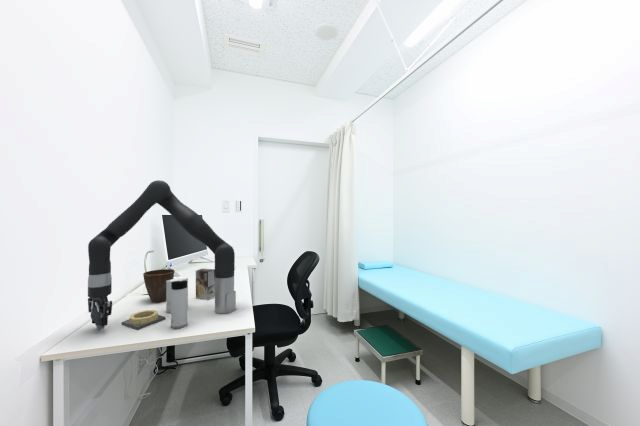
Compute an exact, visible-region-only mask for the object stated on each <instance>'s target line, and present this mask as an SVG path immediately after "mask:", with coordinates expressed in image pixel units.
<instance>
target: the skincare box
mask: <svg viewBox="0 0 640 426" xmlns="http://www.w3.org/2000/svg"><path fill="white" fill-rule="evenodd" d="M184 280H186V281H187V287H188V288H187V289H188V290H189V277H175V278H173V279H171V280H168V281H166V300H165V307H166V308H165V312H166V313H170V314H171V282H173V281H184ZM188 298H189V293H188V294H187V309H188V306H189V305H188V304H189V299H188Z"/></svg>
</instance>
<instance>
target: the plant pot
mask: <svg viewBox="0 0 640 426" xmlns="http://www.w3.org/2000/svg"><path fill="white" fill-rule="evenodd" d="M142 275H143V281H144V285H145V289H146V292H147V295H148V297H149V299H150V302H152V303H162V302H166V281H168V280H171V279H175V278H174V276H175V270H174V269H170V268H169V269H168V268H166V269H165V268H163V269H156V270H154V269H153V270H149V271H145V272H144V273H143V274H142Z"/></svg>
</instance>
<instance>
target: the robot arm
mask: <svg viewBox="0 0 640 426" xmlns="http://www.w3.org/2000/svg"><path fill="white" fill-rule="evenodd" d="M156 204H158V205H159V206H160V207H162V208H163V209H164V210H165V211H167V212H168V213H169V215H171V217H172V218H173V219H174V220H175V221H176V223H178V225H179V226H181V228H182V229H184V230H185V231H186V232H187V233H188V234H189V235H191V237H193V238H194V239H196V240H198V241H199V242H201V243H202V244H204V245H205V246H206V247H207V248H208V249H209V250H210V251H211V252H212V253H213V255H214V269H215V297H214V312H215V313H216V314H225V315H227V314H229V313H230V312H234V311H235V310H236V309H237V308H236V307H237V305H236V304H237V303H236V300H237V299H236V298H237V297H236V296H237V294H236V290H235V264H236V263H235V260H236V259H235V256H236V255H235V249H234V247H233V246H232V245H230V244H229V243H228V242H226V241H225V240H224V239H223V238H221V237H220V236H219V235H218V234H217V233H216V232H215V231H214V230H213V228H212V227H211V226H210V225H209V224H208V223H207V221H205V220H204V218H203V217H202V216H200V215H199V214H198V213H197V212H196V211H194V210H193V209H192V208H190V207H188V206H187V205H186V204H184V203H183V202H181V200H180V199H178V197H177V196H176V195H175V194H174V193H173V192H172V190H171V187H170V185H169V183H167V182H166V181H164V180H160V179H159V180H153V181H152V182H150V183H149V184H148V185H147V187H145V189H144V190H143V192H142V193H141V194H140V195H139V197H138V198H136V200H135V201H134V202H132V204H130V206H128V208H126V209H125V210H124V211H122V213H120V214H119V215H118V216H116V218H115V219H113V220H112V221H111V222H110V223H109V224H108V225H107V226H106V227H105V228H104V229H103V230H102V231H101V232H99V233H98V234H97V235H95V236H94V237H92V239H91V240H90V241H89V242H88V245H87V252H88V260H89V261H88V262H89V263H88V277H87V297H88V298H87V307H88V309H87V310H88V313H91V312H92V311H93V309H95V308H97V311H98V313H100V317H101V318H100V326H102V327H103V326H104V327H106V326H107V325H108V323H109V321H108V319H109V316H111V315H112V311H113V301H112V300H110V301H109V299H108V296H109V295H111V294H112V290H113V289H112V284H113V283H112V282H113V281H112V263H111V247H113V245H115V243H116V242H117V241H118V240H119V239H121V238H122V237H123V236H125V235H126V234H127V233H128V232H129V231H130V230H132V229H133V228H134V227H135V226H136V225H137V223H138V222H139V221H140V220H141V219H142V217H144V215H145V214H146V213H147V212H148V211H149V210H150V209H151V208H152V207H153V206H155V205H156ZM101 309H102V310H101ZM108 310H109V312H108ZM91 324H93V325H94V324H95V322H94V321H93V320H92V319H91Z"/></svg>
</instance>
